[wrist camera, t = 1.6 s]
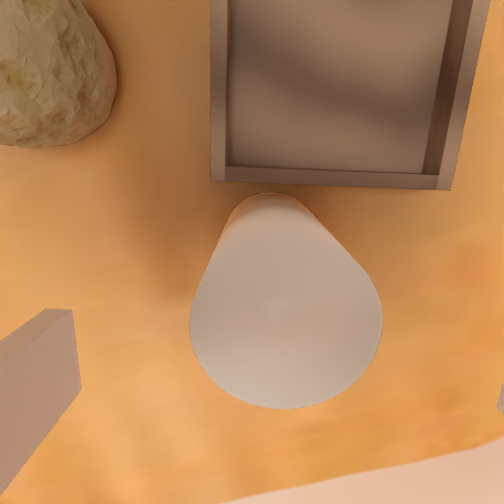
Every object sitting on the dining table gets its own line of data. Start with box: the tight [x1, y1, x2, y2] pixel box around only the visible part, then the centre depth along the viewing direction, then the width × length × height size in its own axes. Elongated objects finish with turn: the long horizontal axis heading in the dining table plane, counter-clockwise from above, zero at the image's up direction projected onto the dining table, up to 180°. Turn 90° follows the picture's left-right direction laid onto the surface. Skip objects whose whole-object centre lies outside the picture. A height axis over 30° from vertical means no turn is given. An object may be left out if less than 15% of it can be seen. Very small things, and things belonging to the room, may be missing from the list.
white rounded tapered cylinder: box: [189, 192, 383, 409], centre depth 17 cm, size 6×6×12 cm
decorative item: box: [0, 0, 117, 148], centre depth 17 cm, size 10×10×10 cm
